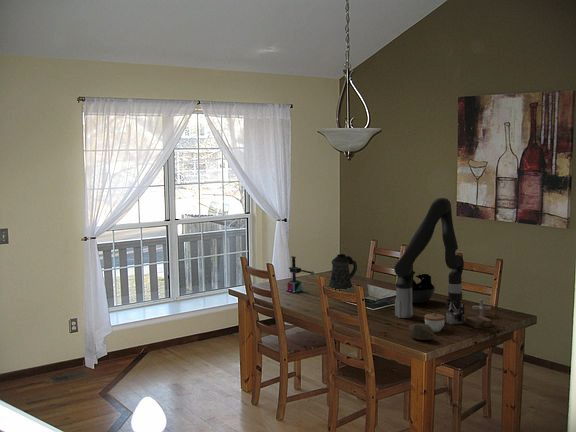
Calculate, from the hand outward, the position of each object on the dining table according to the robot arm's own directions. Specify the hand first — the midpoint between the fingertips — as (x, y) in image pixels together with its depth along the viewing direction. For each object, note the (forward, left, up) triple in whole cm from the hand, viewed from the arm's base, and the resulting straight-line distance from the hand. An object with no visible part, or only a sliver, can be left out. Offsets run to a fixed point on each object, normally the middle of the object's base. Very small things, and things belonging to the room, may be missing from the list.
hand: (455, 319), depth 352 cm
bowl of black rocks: (+1, +45, -2) cm, 45 cm away
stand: (+10, -8, -2) cm, 13 cm away
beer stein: (-31, +95, -2) cm, 100 cm away
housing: (0, 0, -2) cm, 2 cm away
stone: (-31, -19, -2) cm, 36 cm away
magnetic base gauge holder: (-60, +101, -2) cm, 118 cm away
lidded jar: (-17, -8, -2) cm, 19 cm away
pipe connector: (+20, +5, -2) cm, 20 cm away
